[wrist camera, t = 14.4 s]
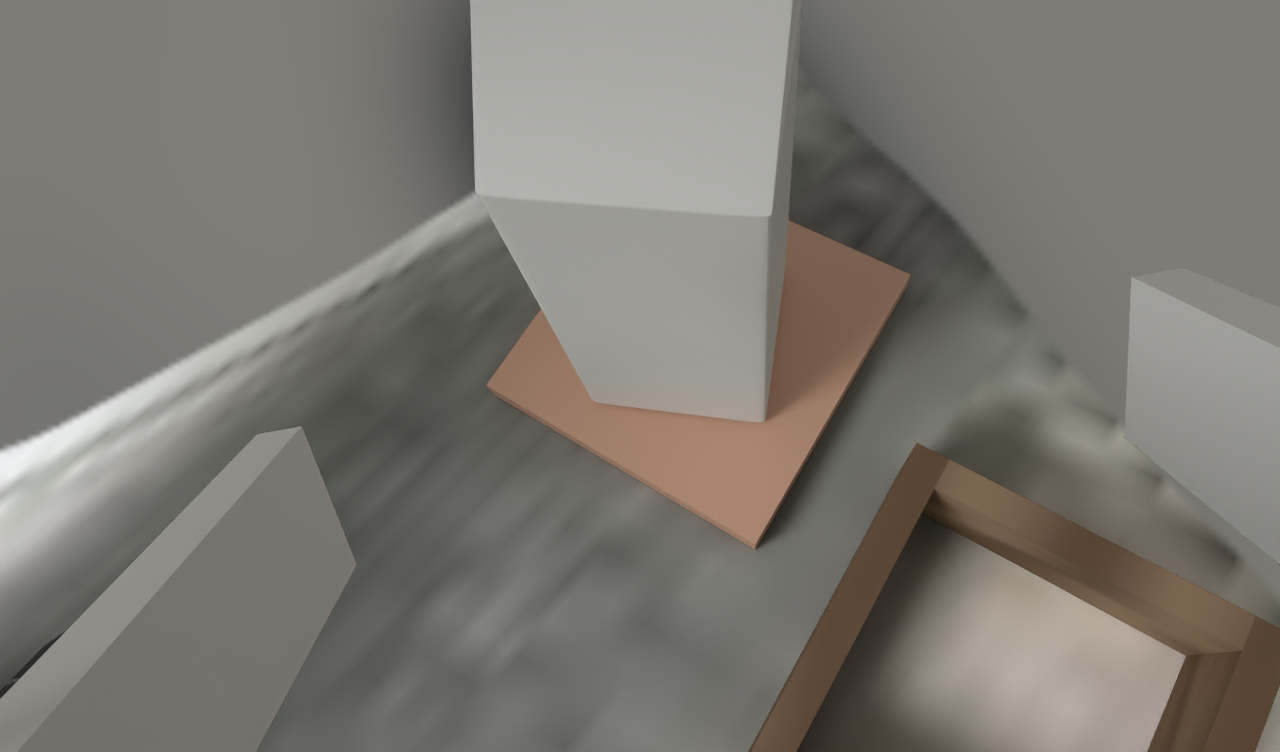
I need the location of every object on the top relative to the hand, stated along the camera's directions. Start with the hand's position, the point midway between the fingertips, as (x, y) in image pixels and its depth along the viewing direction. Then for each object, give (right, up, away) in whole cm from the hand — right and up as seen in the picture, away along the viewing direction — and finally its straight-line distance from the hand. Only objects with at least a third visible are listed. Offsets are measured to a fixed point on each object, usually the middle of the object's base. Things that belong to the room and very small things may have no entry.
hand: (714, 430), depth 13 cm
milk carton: (+1, +3, +21) cm, 21 cm away
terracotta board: (+1, +2, +22) cm, 22 cm away
